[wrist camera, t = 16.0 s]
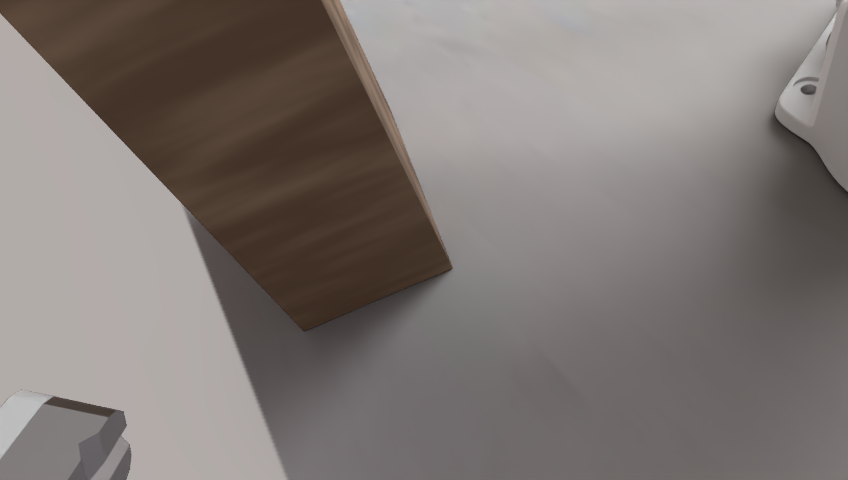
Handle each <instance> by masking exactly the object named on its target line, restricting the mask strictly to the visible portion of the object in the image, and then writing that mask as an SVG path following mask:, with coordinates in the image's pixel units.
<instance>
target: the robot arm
mask: <svg viewBox="0 0 848 480" xmlns="http://www.w3.org/2000/svg"><path fill="white" fill-rule="evenodd" d="M836 7H837V8H839V9H838V11H837V12H836V14H835V15H834V17H833V18H832V20H831V21H830V23H829V24H828V26H827V27H826V29H825V30H824V32H823V33H822V35H821V36H820V38H819V39H818V41H817V42H816V44H815V45H814V46H813V48H812V49H811V51H810V52H809V54H808V55H807V57H806V58H805V60H804V61H803V63H802V64H801V66H800V67H799V69H798V70H797V72H796V73H795V75H794V76H793V77H792V79H791V80H790V82H789V83H788V85H787V86H786V88H785V89H784V91H783V92H782V94H781V95H780V97H779V100H778V103H777V106H776V109H775V115H776V118H777V119H778V120H779V122H780V123H781V124H783V125H784V126H785V127H786V128H788V129H789V130H790V131H792V132H793V133H795V134H796V135H798V136H799V137H801V138H802V139H804V140H806V141H807V142H809V143H810V144H811V145H812V146H813V147H814V149H815V150H816V151H817V153H818V154H819V156H820V157H821V159H822V161H823V162H824V164H825V166H826V167H827V169H828V170H829V172H830V173H831V174H832V176H833V177H834V178H835V179H836V181H837V182H838V183H839V184H840V185H841V186H842V187H843V188H844V189H845V190H846V191H847V192H848V0H837V1H836ZM806 93H809V94H812V95H805V94H806ZM126 426H127V425H126V420H125V416H124V412H123V411H120V410H115V409H110V408H106V407H101V406H96V405H91V404H87V403H82V402H78V401H73V400H68V399H63V398H59V397H56V396H51V395H46V394H41V393H35V392H30V391H25V390H20V391H18V392H17V393H15V394H13V395H12V396H10V397H9V398H8V399H7V400H6V401H5V402H4V403H3V405H2V406H1V407H0V480H126V479H127V476H128V473H129V470H130V463H131V450H130V444H129V443H128V442H127V441H126V440H124V438H123V437H122V436H121V434H122V432H123V431H124V429H125V428H126Z"/></svg>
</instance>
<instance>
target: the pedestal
mask: <svg viewBox="0 0 848 480" xmlns="http://www.w3.org/2000/svg"><path fill="white" fill-rule="evenodd" d="M0 13H1V14H2V16H3V17H4V18H5V19H6V20H7V21H8V22H9V23H10V24H11V25H12V26H13V27H14V28H15V29H16V30H17V31H18V32H19V33H20V34H21V35H22V37H24V39H25V40H26V41H27V42H28V43H29V44H30V45H31V46H32V47H33V48H34V49H35V50H36V51H37V52H38V53H39V54H40V55H41V56H42V57H43V58H44V60H45V61H46V62H47V63H48V64H49V65H50V66H51V67H52V68H53V69H54V70H55V71H56V72H57V73H58V74H59V75H60V76H61V77H62V78H63V79H64V80H65V82H66V83H67V84H68V85H69V86H70V87H71V88H72V89H73V90H74V91H75V92H76V93H77V94H78V95H79V96H80V97H81V98H82V99H83V100H84V101H85V102H86V104H88V106H89V107H90V108H91V109H92V110H93V111H94V112H95V113H96V114H97V115H98V116H99V117H100V118H101V119H102V120H103V121H104V122H105V123H106V124H107V125H108V126H109V128H110V129H111V130H112V131H113V132H114V133H115V134H116V135H117V136H118V137H119V138H120V139H121V140H122V141H123V142H124V143H125V144H126V145H127V146H128V147H129V148H130V150H131V151H132V152H133V153H134V154H135V155H136V156H137V157H138V158H139V159H140V160H141V161H142V162H143V163H144V164H145V165H146V166H147V167H148V168H149V169H150V171H151V172H152V173H153V174H154V175H155V176H156V177H157V178H158V179H159V180H160V181H161V182H162V183H163V184H164V185H165V186H166V187H167V188H168V189H169V190H170V192H171V193H172V194H173V195H174V196H175V197H176V198H177V199H178V200H179V201H180V202H181V203H182V204H183V205H184V206H185V207H186V208H187V209H188V210H189V211H190V212H191V214H192V215H193V216H194V217H195V218H196V219H197V220H198V221H199V222H200V223H201V224H202V225H203V226H204V227H205V228H206V229H207V230H208V231H209V232H210V233H211V234H212V236H213V237H214V238H215V239H216V240H217V241H218V242H219V243H220V244H221V245H222V246H223V247H224V248H225V249H226V250H227V251H228V252H229V253H230V254H231V255H232V256H233V257H234V259H235V260H236V261H237V262H238V263H239V264H240V265H241V266H242V267H243V268H244V269H245V270H246V271H247V272H248V273H249V274H250V275H251V276H252V277H253V278H254V279H255V281H256V282H257V283H258V284H259V285H260V286H261V287H262V288H263V289H264V290H265V291H266V292H267V293H268V294H269V295H270V296H271V297H272V298H273V299H274V300H275V301H276V303H277V304H278V305H279V306H280V307H281V308H282V309H283V310H284V311H285V312H286V313H287V314H288V315H289V316H290V317H291V318H292V319H293V320H294V321H295V322H296V323H297V325H298V326H299V327H300V328H301V329H302V330H303V331H306V330H308V329H311V328H313V327H315V326H318V325H320V324H322V323H325V322H327V321H330V320H332V319H334V318H337V317H339V316H341V315H344V314H346V313H348V312H351V311H353V310H355V309H358V308H360V307H363V306H365V305H367V304H370V303H372V302H374V301H377V300H379V299H381V298H384V297H386V296H388V295H391V294H393V293H396V292H398V291H400V290H403V289H405V288H407V287H410V286H412V285H414V284H417V283H419V282H421V281H424V280H426V279H429V278H431V277H433V276H436V275H438V274H440V273H443V272H445V271H447V270H450V269H452V268H453V267H452V265H451V262H450V260H449V257H448V255H447V252H446V250H445V247H444V245H443V242H442V239H441V237H440V234H439V232H438V229H437V227H436V224H435V222H434V219H433V217H432V214H431V211H430V209H429V206H428V204H427V201H426V199H425V196H424V194H423V191H422V189H421V186H420V184H419V181H418V178H417V176H416V173H415V171H414V168H413V166H412V163H411V161H410V158H409V156H408V153H407V150H406V148H405V145H404V143H403V140H402V138H401V135H400V133H399V130H398V128H397V125H396V123H395V120H394V117H393V115H392V112H391V110H390V108H389V105H388V103H387V101H386V99H385V97H384V95H383V92H382V90H381V88H380V86H379V84H378V82H377V80H376V77H375V75H374V73H373V71H372V69H371V67H370V65H369V62H368V60H367V58H366V56H365V54H364V52H363V50H362V47H361V45H360V43H359V41H358V39H357V37H356V34H355V32H354V30H353V28H352V26H351V24H350V22H349V19H348V17H347V15H346V13H345V11H344V9H343V7H342V4H341V2H340V0H0Z"/></svg>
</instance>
